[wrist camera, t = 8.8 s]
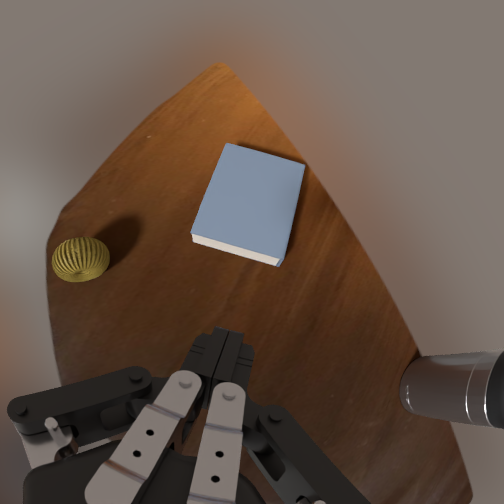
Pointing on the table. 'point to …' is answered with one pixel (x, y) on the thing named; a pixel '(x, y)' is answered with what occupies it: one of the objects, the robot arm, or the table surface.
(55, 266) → the sculpture
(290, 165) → the book
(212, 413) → the robot arm
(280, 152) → the table surface
